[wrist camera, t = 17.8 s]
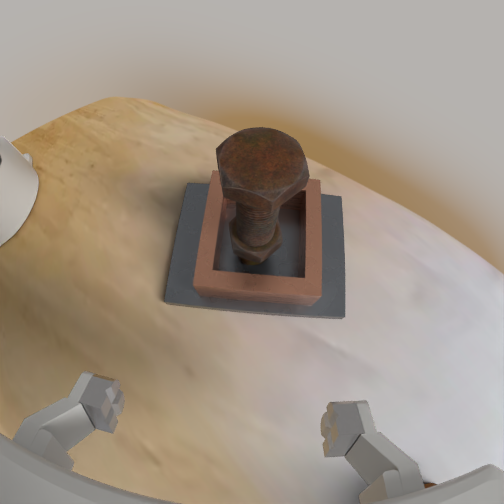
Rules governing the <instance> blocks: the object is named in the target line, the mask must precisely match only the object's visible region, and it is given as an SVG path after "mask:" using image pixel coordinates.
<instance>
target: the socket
mask: <svg viewBox="0 0 504 504" xmlns="http://www.w3.org/2000/svg"><path fill="white" fill-rule="evenodd" d="M235 216H236V201H233V200H229V199H226V198H223V193H222V187H221V181H220V175H219V171H212V176H211V181H210V184H198V183H188V184H187V188H186V192H185V196H184V201H183V205H182V210H181V214H180V219H179V224H178V229H177V233H176V238H175V243H174V249H173V254H172V259H171V265H170V270H169V276H168V282H167V288H166V294H165V300H164V302H165V303H166V304H170V305H177V306H186V307H194V308H203V309H212V310H221V311H231V312H242V313H253V314H265V315H278V316H293V317H309V318H329V319H342V318H344V317H345V253H344V230H343V213H342V198H341V196H333V195H325V194H321V188H320V180H316V179H308V182H307V186H306V187H305V188H303V189H302V190H301V191H299V192H298V193H297V194H295V195H294V196H293V197H291V198H290V199H289V200H287V201H286V202H285V203H283V204H282V205H281V206H280V209H279V214H278V221H279V224H280V228H281V233H282V238H283V242H282V245H281V247H280V248H279V249H278V250H277V251H275V252H274V253H273V254H272V255H271V256H270V257H268V259H267V260H266V261H264V262H263V263H261V264H259V265H246V264H244V263H243V262H242V259H239V256H237V255H235V254H233V249H232V244H231V238H230V232H229V222H230V221H231V220H232V219H233V218H234V217H235Z"/></svg>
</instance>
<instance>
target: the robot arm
mask: <svg viewBox="0 0 504 504" xmlns="http://www.w3.org/2000/svg"><path fill="white" fill-rule="evenodd" d="M38 184H39V181H38V175H37V173H36V171H35V170H34V168H33V167H32V157H31V156H30V155H29V154H28V153H26V154H23V155H22V154H21V153H20V152H19V151H18V150H17V149H16V148H15V147H14V146H13V145H12V144H11V143H10V142H9V141H8V140H7V139H6V138H5V137H4V136H0V246H1V245H2V244H3V243H5V242H6V241H7V240H9V239H10V238H11V237H12V236H13V235H14V234H15V233H16V232H17V231H18V230H19V228H20V227H21V226H22V224H23V223H24V221H25V220H26V218H27V217H28V215H29V213H30V211H31V209H32V207H33V204H34V202H35V199H36V196H37V192H38ZM119 388H120V383H119V380H116V379H112V378H109V377H105V376H102V375H98V374H95V373H91V372H88V371H84V372H83V373H82V374H81V375H80V377H79V379H78V380H77V382H76V384H75V386H74V387H73V389H72V391H71V393H70V394H69V396H68V398H65V397H64V398H62V399H61V400H59V401H57V402H55V403H53V404H51V405H50V406H48V407H46V408H44V409H42V410H40V411H38V412H36V413H35V414H33V415H31V416H29V417H27V418H25V419H24V421H23V422H22V424H21V426H20V428H19V429H18V431H17V433H16V435H15V437H14V438H13V440H10V439H9V438H7V437H6V436H4V435H2V434H1V433H0V504H181V503H175V502H170V501H165V500H161V499H156V498H152V497H148V496H144V495H140V494H137V493H133V492H129V491H126V490H123V489H119V488H116V487H113V486H110V485H107V484H104V483H101V482H99V481H96V480H93V479H90V478H88V477H85V476H83V475H80V474H78V473H75V472H73V471H71V470H72V467H73V464H74V461H73V459H72V458H71V457H70V456H69V455H68V453H67V451H68V450H69V449H71V448H72V447H73V446H75V445H76V444H77V443H79V442H80V441H81V440H83V439H84V438H85V437H86V436H88V435H89V434H90V433H92V432H93V431H94V430H95V429H99V430H102V431H105V432H109V433H114V431H115V428H116V426H117V423H118V420H117V417H116V416H118V415H119V414H121V413H122V410H123V408H124V401H125V400H124V394H123V392H122V391H121V390H120V389H119ZM321 435H322V436H323V437H324V438H325V441H324V442H323V449H324V456H325V457H341V456H345V458H346V459H347V461H348V462H349V463H350V464H351V465H352V467H353V468H354V469H355V470H356V471H357V472H358V474H359V475H360V476H361V477H362V478H363V479H364V480H365V482H366V483H367V484H368V485H369V486H368V487H367V488H366V489H365V490H364V491H363V492H362V493H361V494H360V495H359V501H360V504H504V471H503V470H501V469H500V468H498V467H496V466H494V465H492V464H487V465H484V466H482V467H480V468H478V469H475V470H473V471H471V472H469V473H466V474H464V475H461V476H459V477H457V478H454V479H451V480H449V481H446V482H443V483H441V484H438V485H435V486H432V487H429V488H426V489H425V487H424V484H423V480H422V477H421V474H420V470H419V467H418V464H417V463H416V462H415V461H414V460H413V459H411V458H410V457H409V456H408V455H407V454H405V453H404V452H403V451H402V450H401V449H399V448H398V447H397V446H396V445H395V444H394V443H392V442H391V441H390V440H389V439H388V438H387V437H385V436H384V435H383V434H382V433H381V432H377V430H376V427H375V424H374V420H373V417H372V414H371V410H370V407H369V404H368V402H367V401H366V400H363V401H343V402H330V403H329V404H328V405H327V412H326V413H324V414H323V417H322V419H321Z"/></svg>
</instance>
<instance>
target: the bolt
mask: <svg viewBox="0 0 504 504" xmlns="http://www.w3.org/2000/svg"><path fill="white" fill-rule="evenodd" d="M216 155H217V163H218V169H219V175H220V181H221V187H222V193H223V198H226V199H229V200H233V201H236V216H235V217H234V218H233V219H232V220H231V221H230V222H229V232H230V238H231V244H232V249H233V254H235V255H237V256H239V259H242V262H243V263H244V264H246V265H259V264H261V263H263V262H264V261H266V260H267V259H268V257H270V256H271V255H272V254H273V253H274V252H275V251H277V250H278V249H279V248H280V247H281V245H282V242H283V238H282V233H281V228H280V224H279V221H278V214H279V209H280V206H281V205H282V204H283V203H285V202H286V201H287V200H289V199H290V198H291V197H293V196H294V195H295V194H297V193H298V192H299V191H301V190H302V189H303V188H305V187H306V186H307V182H308V179H309V170H308V165H307V161H306V158H305V155H304V153H303V150H302V148H301V146H300V144H299V143H298V142H297V140H295V139H294V138H292V137H291V136H289V135H287V134H285V133H283V132H281V131H278V130H275V129H271V128H263V127H259V128H249V129H244V130H241V131H239V132H237V133H235V134H233V135H231V136H230V137H229V138H227V139H226V140H225V141H224V142H223V143H221V144H220V145H219V146H218V147H217V148H216Z"/></svg>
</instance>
